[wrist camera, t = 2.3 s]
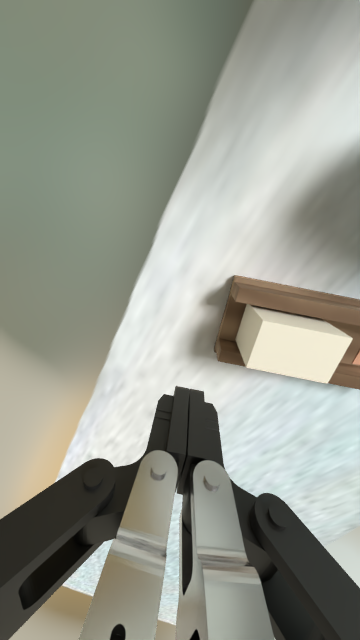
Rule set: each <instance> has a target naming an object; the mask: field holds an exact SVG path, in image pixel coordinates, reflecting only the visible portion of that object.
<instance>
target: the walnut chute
mask: <svg viewBox="0 0 360 640" xmlns="http://www.w3.org/2000/svg"><path fill="white" fill-rule="evenodd" d="M247 304H251V305H256V306H261V307H266V308H271V309H276V310H281V311H286V312H291V313H296V314H301V315H306V316H312V317H317V318H321V319H323V320H324V321H326V322H328V323H329V324H331V325H332V326H334V327H336V328H337V329H339V330H340V331H342V332H344V333H345V334H347V335H348V336H350V337H352V338H353V340H352V341H351V343H350V345H349V347H348V348H347V350H346V352H345V354H344V355H343V357H342V359H341V361H340V363H339V364H338V366H337V368H336V370H335V371H334V373H333V375H332V377H331V379H330V380H329V382H328V383H330V384H335V385H340V386H345V387H350V388H355V389H360V300H359V299H354V298H349V297H344V296H339V295H334V294H329V293H324V292H319V291H313V290H308V289H303V288H298V287H293V286H288V285H283V284H278V283H273V282H268V281H262V280H257V279H252V278H247V277H242V276H237V275H234V279H233V282H232V286H231V290H230V293H229V297H228V300H227V304H226V308H225V311H224V315H223V318H222V322H221V325H220V329H219V333H218V336H217V340H216V343H215V347H214V351H215V352H216V353H217V359H218V361H220V362H225V363H230V364H235V365H240V366H245V363H244V361H243V358H242V355H241V353H240V350H239V348H238V345H237V342H236V340H235V339H236V336H237V333H238V330H239V327H240V324H241V320H242V317H243V314H244V311H245V308H246V305H247ZM245 367H246V366H245Z"/></svg>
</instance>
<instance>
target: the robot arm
mask: <svg viewBox="0 0 360 640" xmlns="http://www.w3.org/2000/svg"><path fill="white" fill-rule="evenodd" d="M176 488H177V494H182V495H183V502H182V510H181V513H180V519H179V602H178V610H177V620H176V640H275V639H276V640H360V588H359V587H358V586H357V585H356V583H355V582H354V581H353V580H352V579H351V578H350V577H349V576H348V574H347V573H346V572H345V571H344V570H343V569H342V567H341V566H340V565H339V564H338V563H337V562H336V561H335V559H334V558H333V557H332V556H331V555H330V554H329V552H328V551H327V550H326V549H325V548H324V547H323V546H322V544H321V543H320V542H319V541H318V540H317V539H316V537H315V536H314V535H313V534H312V533H311V532H310V531H309V529H308V528H307V527H306V526H305V525H304V524H303V523H302V521H301V520H300V519H299V518H298V517H297V516H296V514H295V513H294V512H293V511H292V510H291V509H290V508H289V506H288V505H287V504H286V503H285V502H284V501H283V500H281V499H280V498H279V497H277V496H275V495H273V494H270V493H263V494H261V495H259V496H258V497H255V496H253V495H252V494H250V493H248V492H247V491H245V490H243V489H241V488H240V487H238V486H237V485H236V484H235V483H234V482H233V481H232V480H231V479H230V478H229V475H228V474H227V472H226V471H225V468H224V464H223V457H222V449H221V440H220V432H219V424H218V415H217V411H216V410H215V408H214V406H213V404H211V403H206V402H204V392H203V391H199V390H194V389H190V390H189V389H188V388H183V387H178V386H176V387H175V391H174V396H171V395H166V394H164V395H163V396H162V397H161V398H160V399H159V401H158V404H157V408H156V413H155V417H154V421H153V425H152V429H151V433H150V437H149V441H148V446H147V449H146V451H145V453H144V455H143V456H142V457H141V458H140V459H139V460H138V461H137V462H135V463H133V464H130V465H126V466H120V467H114V466H113V465H112V464H111V463H110V462H109V461H108V460H105V459H101V458H97V459H92V460H89V461H87V462H85V463H84V464H82V465H81V466H79V467H78V468H76V469H75V470H73V471H72V472H70V473H69V474H67V475H66V476H64V477H63V478H61V479H60V480H58V481H57V482H55V483H54V484H52V485H51V486H49V487H48V488H46V489H45V490H44V491H42V492H40V493H39V494H37V495H36V496H35V497H33V498H32V499H30V500H29V501H27V502H26V503H24V504H23V505H21V506H20V507H18V508H17V509H15V510H14V511H12V512H11V513H9V514H8V515H6V516H5V517H3V518H2V519H0V640H8V639H9V638H10V637H11V636H12V635H13V634H14V633H15V632H16V631H17V630H18V629H19V628H20V627H21V626H22V625H23V624H24V623H25V622H26V621H27V620H28V619H29V618H30V617H31V616H32V615H33V614H34V613H35V612H36V611H37V610H38V609H39V608H40V607H41V606H42V605H43V604H44V603H45V602H46V601H47V599H49V598H50V597H51V595H52V594H53V593H54V592H55V591H56V590H57V589H58V588H59V587H60V586H61V585H62V584H63V583H64V582H65V581H66V580H67V579H68V578H69V577H70V576H71V575H72V574H73V573H74V572H75V571H76V570H77V569H78V568H79V567H80V566H81V565H82V564H83V563H84V562H85V561H86V560H87V559H88V558H89V557H90V556H91V555H92V554H93V552H94V551H95V550H96V549H97V548H98V547H99V546H100V545H101V544H102V543H103V542H104V541H108V540H112V539H114V540H113V542H112V544H111V547H110V549H109V552H108V555H107V558H106V561H105V564H104V567H103V570H102V573H101V576H100V578H99V581H98V584H97V587H96V590H95V593H94V596H93V599H92V602H91V605H90V608H89V611H88V614H87V617H86V620H85V623H84V625H83V629H82V632H81V634H80V637H79V640H155V634H156V627H157V620H158V613H159V606H160V600H161V593H162V586H163V579H164V572H165V565H166V548H167V541H168V534H169V528H170V521H171V515H172V508H173V502H174V495H175V492H176ZM274 638H275V639H274Z"/></svg>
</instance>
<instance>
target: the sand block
mask: <svg viewBox="0 0 360 640" xmlns="http://www.w3.org/2000/svg"><path fill="white" fill-rule="evenodd" d="M235 340H236V342H237V345H238V348H239V350H240V353H241V355H242V358H243V361H244V363H245V366H246V368H251V369H256V370H261V371H266V372H271V373H276V374H281V375H286V376H291V377H296V378H301V379H306V380H311V381H316V382H321V383H326V384H328V382H329V380H330V379H331V377H332V375H333V373H334V371H335V370H336V368H337V366H338V364H339V363H340V361H341V359H342V357H343V355H344V354H345V352H346V350H347V348H348V347H349V345H350V343H351V341H352V340H353V338H352V337H350V336H348V335H347V334H345V333H344V332H342V331H340V330H339V329H337V328H336V327H334V326H332V325H331V324H329V323H328V322H326V321H324V320H323V319H321V318H317V317H312V316H306V315H301V314H296V313H291V312H286V311H281V310H276V309H271V308H266V307H261V306H256V305H251V304H247V305H246V308H245V311H244V314H243V317H242V320H241V324H240V327H239V330H238V333H237V336H236V339H235Z"/></svg>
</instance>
